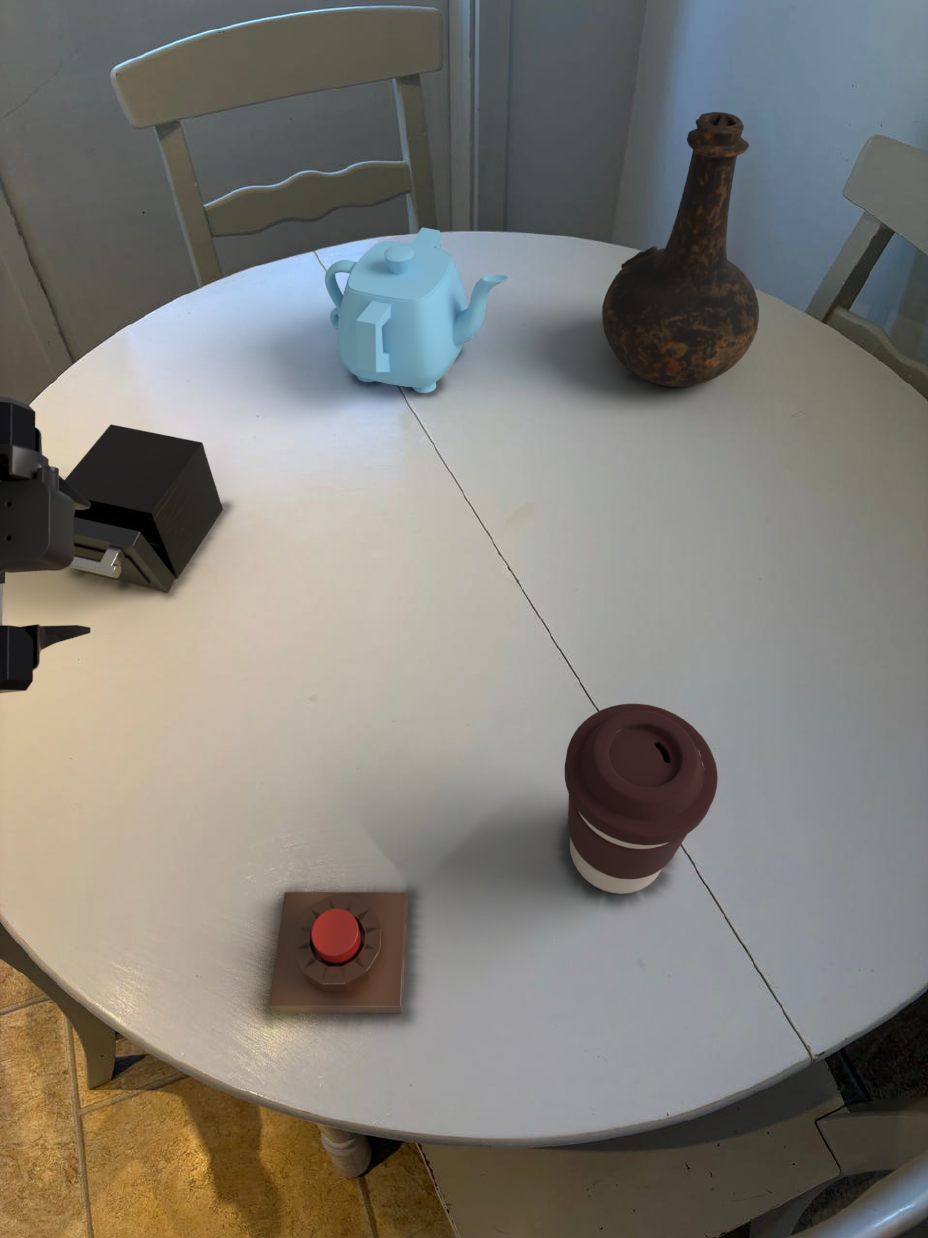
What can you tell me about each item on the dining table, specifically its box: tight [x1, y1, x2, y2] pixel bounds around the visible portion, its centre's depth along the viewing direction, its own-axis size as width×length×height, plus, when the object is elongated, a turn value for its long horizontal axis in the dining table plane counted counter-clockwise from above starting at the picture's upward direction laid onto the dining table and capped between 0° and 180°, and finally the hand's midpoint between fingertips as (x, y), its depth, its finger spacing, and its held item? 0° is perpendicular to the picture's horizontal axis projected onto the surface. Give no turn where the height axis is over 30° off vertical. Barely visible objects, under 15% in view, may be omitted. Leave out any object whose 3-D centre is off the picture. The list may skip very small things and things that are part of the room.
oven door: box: [67, 517, 176, 593], centre depth 82 cm, size 4×10×9 cm, turn 74°
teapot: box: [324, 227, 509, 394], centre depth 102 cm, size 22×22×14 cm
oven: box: [64, 423, 224, 580], centre depth 87 cm, size 10×10×9 cm
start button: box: [311, 909, 361, 963], centre depth 61 cm, size 3×3×2 cm
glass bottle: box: [601, 111, 760, 388], centre depth 97 cm, size 18×18×28 cm
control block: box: [269, 891, 409, 1014], centre depth 63 cm, size 9×8×4 cm
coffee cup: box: [563, 703, 719, 895], centre depth 63 cm, size 10×10×15 cm
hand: (86, 568), depth 64 cm, fingers open, 9 cm apart
